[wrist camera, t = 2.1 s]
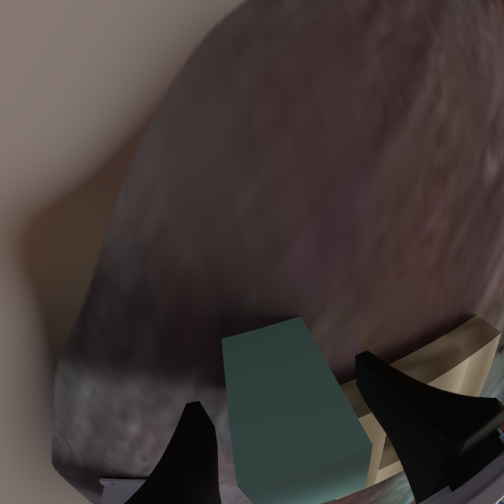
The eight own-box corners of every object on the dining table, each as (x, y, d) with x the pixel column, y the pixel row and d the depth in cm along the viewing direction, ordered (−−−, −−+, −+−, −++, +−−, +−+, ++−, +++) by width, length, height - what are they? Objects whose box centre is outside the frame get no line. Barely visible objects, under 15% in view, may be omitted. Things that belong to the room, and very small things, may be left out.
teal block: (243, 392, 15) (266, 517, 7) (221, 338, 14) (237, 486, 6) (310, 372, 15) (365, 487, 7) (300, 316, 14) (372, 445, 6)
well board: (327, 476, 20) (336, 499, 17) (314, 394, 16) (330, 429, 13) (446, 418, 21) (460, 435, 18) (476, 314, 16) (501, 332, 13)
